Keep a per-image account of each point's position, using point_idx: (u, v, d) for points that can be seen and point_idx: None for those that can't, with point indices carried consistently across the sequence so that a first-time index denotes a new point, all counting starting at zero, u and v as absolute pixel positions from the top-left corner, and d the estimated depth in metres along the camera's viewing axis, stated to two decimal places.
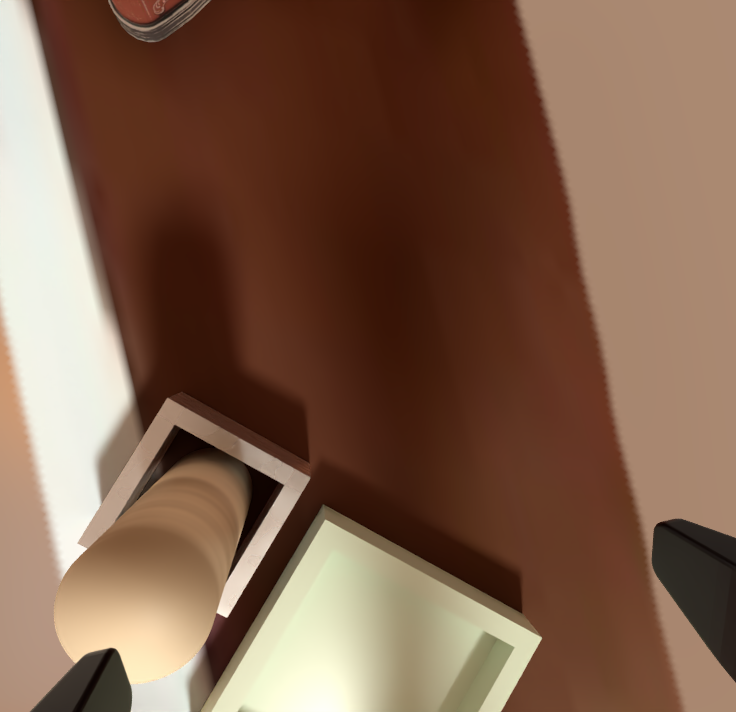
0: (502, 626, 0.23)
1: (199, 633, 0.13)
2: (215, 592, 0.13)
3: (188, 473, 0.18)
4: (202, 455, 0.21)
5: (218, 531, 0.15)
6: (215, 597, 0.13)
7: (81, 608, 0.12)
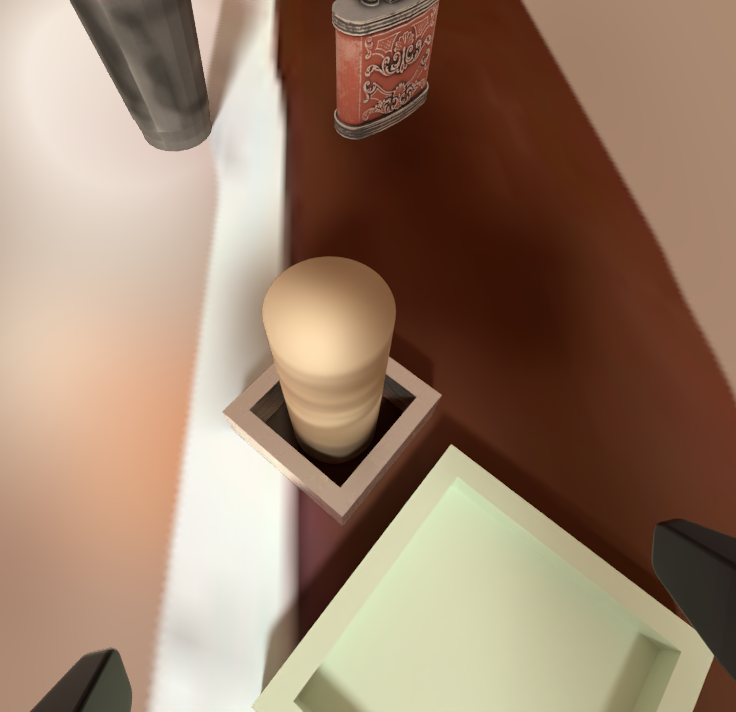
0: (660, 616, 0.18)
1: (377, 338, 0.14)
2: (395, 312, 0.15)
3: None
4: None
5: None
6: (395, 315, 0.14)
7: (286, 299, 0.14)
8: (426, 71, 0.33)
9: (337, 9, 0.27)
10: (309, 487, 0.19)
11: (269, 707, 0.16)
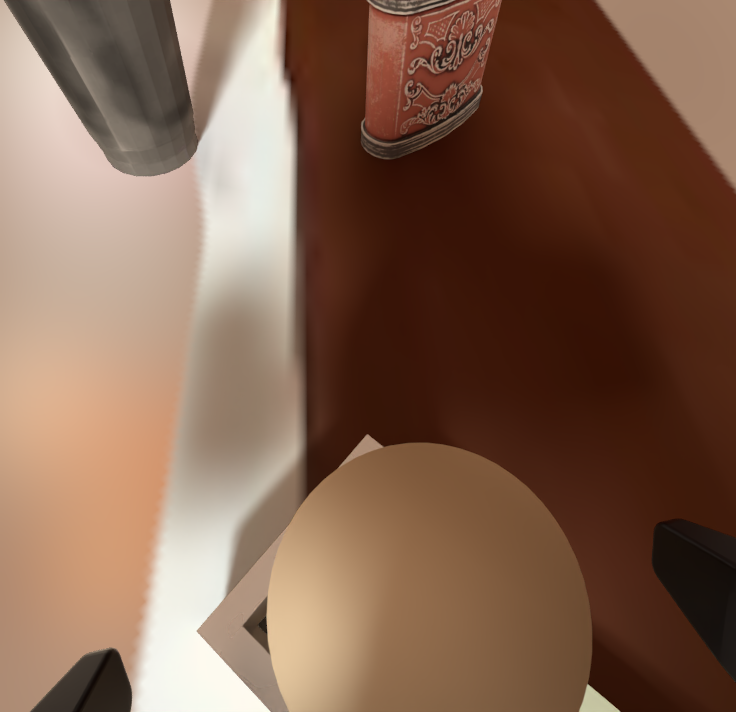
0: None
1: (560, 696, 0.06)
2: (585, 601, 0.06)
3: None
4: None
5: None
6: (587, 612, 0.06)
7: (325, 570, 0.06)
8: (482, 69, 0.25)
9: None
10: None
11: None
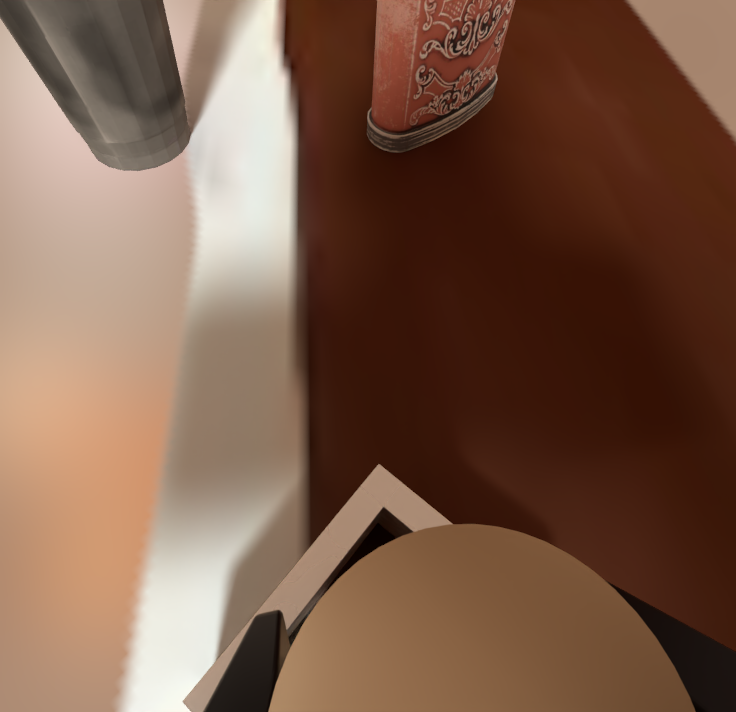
0: None
1: None
2: None
3: None
4: None
5: None
6: None
7: None
8: (498, 55, 0.23)
9: None
10: None
11: None
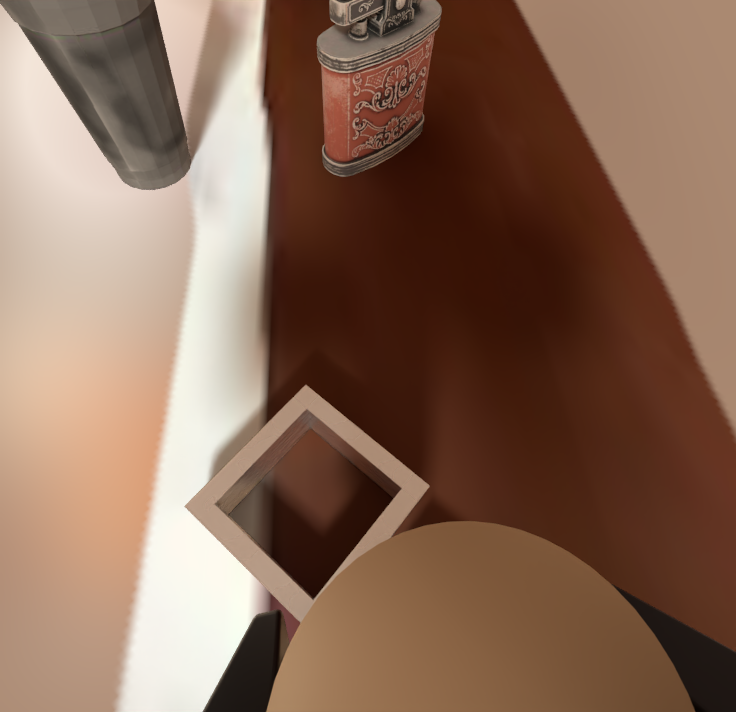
0: None
1: None
2: None
3: None
4: None
5: None
6: None
7: None
8: (421, 103, 0.31)
9: (323, 44, 0.25)
10: (278, 599, 0.17)
11: None
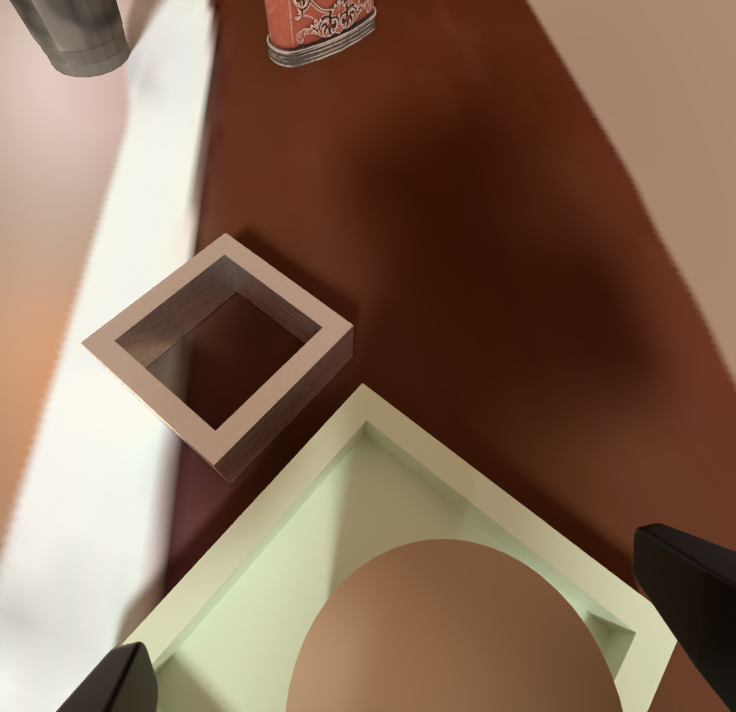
0: (611, 589, 0.14)
1: None
2: None
3: None
4: None
5: None
6: None
7: (345, 688, 0.06)
8: None
9: None
10: (177, 430, 0.16)
11: None
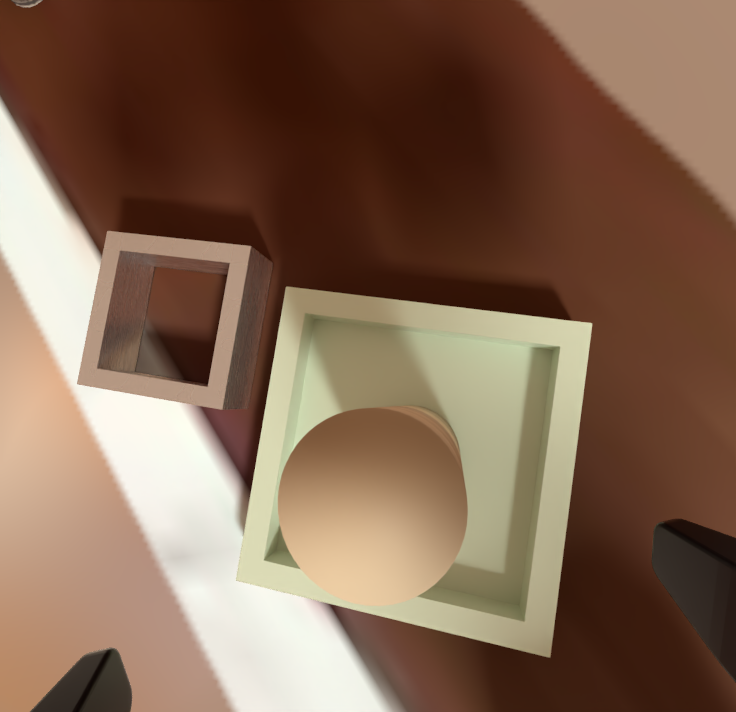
0: (532, 327, 0.18)
1: (455, 515, 0.10)
2: (453, 458, 0.10)
3: None
4: None
5: (430, 422, 0.12)
6: (456, 464, 0.10)
7: (309, 521, 0.10)
8: None
9: None
10: (183, 402, 0.20)
11: (249, 573, 0.19)
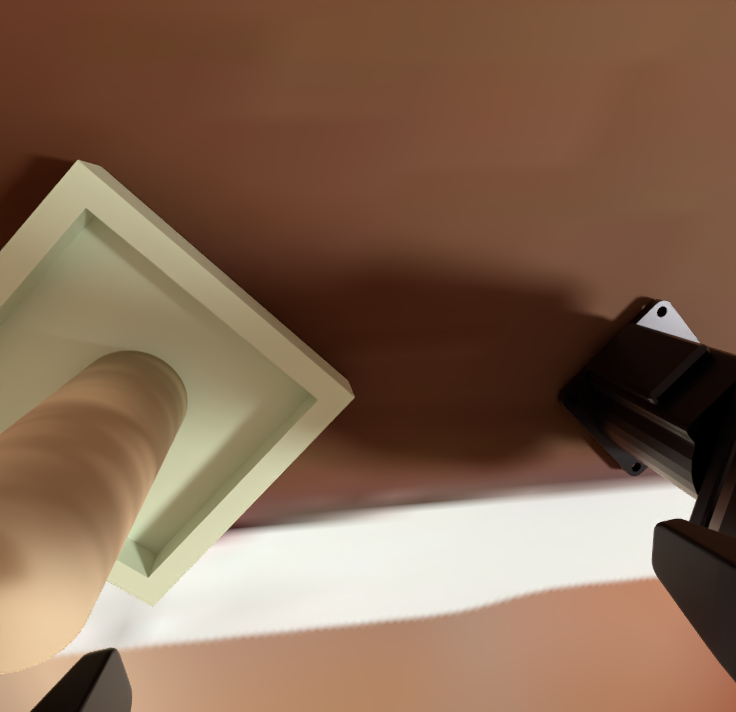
0: (48, 219, 0.15)
1: (30, 524, 0.09)
2: None
3: None
4: None
5: None
6: None
7: None
8: None
9: None
10: None
11: (153, 593, 0.19)
